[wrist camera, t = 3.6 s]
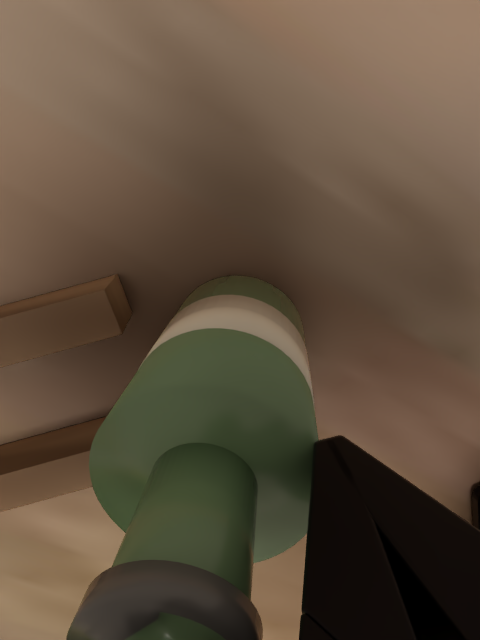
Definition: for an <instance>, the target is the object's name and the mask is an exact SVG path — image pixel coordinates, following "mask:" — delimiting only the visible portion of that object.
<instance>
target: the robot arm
mask: <svg viewBox="0 0 480 640" xmlns="http://www.w3.org/2000/svg"><path fill="white" fill-rule="evenodd" d="M472 504H473V525H471V524H470V523H468V522H467V521H465V520H464V519H463V518H461V517H460V516H458V515H457V514H455V513H454V512H452V511H451V510H449V509H448V508H447V507H445V506H444V505H442V504H441V503H439V502H438V501H436V500H435V499H434V498H432V497H431V496H429V495H428V494H426V493H425V492H423V491H422V490H420V489H419V488H418V487H416V486H415V485H413V484H412V483H410V482H409V481H407V480H406V479H405V478H403V477H402V476H400V475H399V474H397V473H396V472H394V471H393V470H391V469H390V468H389V467H387V466H386V465H384V464H383V463H381V462H380V461H378V460H377V459H376V458H374V457H373V456H371V455H370V454H368V453H367V452H365V451H364V450H362V449H361V448H360V447H358V446H357V445H355V444H354V443H352V442H351V441H349V440H348V439H347V438H345V437H344V436H341V435H338V436H334V437H330V438H327V439H323V440H319V441H316V442H315V443H314V449H313V462H312V476H311V489H310V503H309V516H308V530H307V543H306V557H305V570H304V584H303V598H302V615H301V620H300V633H299V640H480V486H478V487H477V488H476V489H475V490H474V491H473V494H472Z"/></svg>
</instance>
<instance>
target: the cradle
mask: <svg viewBox="0 0 480 640" xmlns="http://www.w3.org/2000/svg"><path fill="white" fill-rule="evenodd" d="M131 315H132V311H131V308H130V306H129V303H128V301H127V298H126V295H125V293H124V290H123V287H122V285H121V282H120V280H119V277H118V274H116V275H112V276H109V277H105V278H101V279H98V280H94V281H90V282H87V283H83V284H79V285H76V286H72V287H68V288H65V289H61V290H57V291H54V292H50V293H46V294H43V295H39V296H35V297H32V298H28V299H24V300H21V301H17V302H13V303H10V304H6V305H2V306H0V368H1V367H4V366H8V365H12V364H15V363H19V362H23V361H26V360H30V359H34V358H37V357H41V356H45V355H48V354H52V353H56V352H59V351H63V350H67V349H70V348H74V347H77V346H81V345H85V344H88V343H92V342H96V341H99V340H103V339H107V338H110V337H114V336H118V335H121V334H122V333H123V331H124V329H125V327H126V325H127V323H128V321H129V319H130V317H131ZM106 417H107V416H106ZM106 417H102V418H99V419H95V420H92V421H88V422H84V423H81V424H77V425H73V426H70V427H66V428H62V429H59V430H55V431H52V432H48V433H44V434H41V435H37V436H33V437H30V438H26V439H22V440H19V441H15V442H12V443H8V444H4V445H1V446H0V512H2V511H6V510H10V509H13V508H17V507H21V506H24V505H28V504H31V503H35V502H39V501H42V500H46V499H50V498H53V497H57V496H60V495H64V494H68V493H71V492H75V491H79V490H82V489H86V488H89V487H93V486H92V482H91V478H90V471H89V455H90V450H91V446H92V442H93V439H94V437H95V435H96V433H97V431H98V429H99V428H100V426H101V425H102V423H103V421H104V420H105V418H106Z"/></svg>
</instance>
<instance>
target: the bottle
mask: <svg viewBox="0 0 480 640" xmlns="http://www.w3.org/2000/svg"><path fill="white" fill-rule="evenodd" d="M316 441H318V433H317V426H316V418H315V405H314V398H313V390H312V383H311V376H310V369H309V361H308V354H307V350H306V344H305V336H304V329H303V324H302V321H301V317H300V315H299V313H298V311H297V309H296V308H295V306H294V304H293V303H292V302H291V301H290V299H289V298H288V297H287V296H286V295H285V294H284V293H283V292H282V291H280V290H279V289H277V288H276V287H275V286H273V285H271V284H269V283H267V282H265V281H263V280H260V279H257V278H253V277H248V276H239V275H238V276H225V277H220V278H217V279H213V280H211V281H209V282H206V283H204V284H203V285H201V286H200V287H198V288H197V289H195V290H194V291H193V292H192V293H191V294H190V295H189V296H188V297H187V298H186V300H185V301H184V303H183V304H182V306H181V307H180V309H179V310H178V311H177V313H176V314H175V316H174V317H173V319H172V320H171V321H170V322H169V324H168V325H167V327H166V328H165V330H164V331H163V333H162V334H161V335H160V337H159V338H158V340H157V341H156V343H155V344H154V346H153V347H152V349H151V350H150V352H149V353H148V355H147V356H146V358H145V359H144V361H143V362H142V364H141V365H140V367H139V369H138V371H137V372H136V374H135V375H134V377H133V378H132V380H131V381H130V383H129V384H128V386H127V387H126V389H125V390H124V392H123V393H122V395H121V396H120V398H119V399H118V401H117V402H116V404H115V405H114V407H113V408H112V410H111V411H110V413H109V414H108V416H107V417H106V418H105V420H104V421H103V423H102V425H101V426H100V428H99V429H98V431H97V433H96V435H95V437H94V439H93V442H92V446H91V450H90V455H89V471H90V478H91V482H92V486H93V489H94V491H95V494H96V496H97V498H98V500H99V502H100V503H101V505H102V507H103V508H104V510H105V511H106V513H107V514H108V515H109V516H110V518H111V519H112V520H113V521H114V522H115V523H116V524H117V525H118V526H119V527H120V528H121V529H122V530H123V531H124V532H125V533H126V534H125V536H124V538H123V541H122V543H121V546H120V548H119V550H118V553H117V555H116V558H115V560H114V563H113V565H112V567H111V568H109V569H108V570H106V571H104V572H102V573H101V574H100V575H98V576H97V577H96V578H95V579H94V580H93V581H92V583H91V584H90V585H89V587H88V589H87V591H86V593H85V595H84V597H83V600H82V602H81V604H80V606H79V609H78V611H77V613H76V615H75V617H74V620H73V622H72V624H71V626H70V629H69V631H68V634H67V640H262V638H263V629H262V622H261V618H260V616H259V614H258V611H257V609H256V608H255V606H254V605H253V603H252V602H251V587H252V572H253V563H256V562H260V561H263V560H266V559H269V558H272V557H274V556H276V555H278V554H280V553H282V552H284V551H286V550H287V549H289V548H290V547H292V546H293V545H295V544H296V543H297V542H298V541H299V540H300V539H302V538H303V537H304V536H305V534H306V533H307V530H308V516H309V503H310V489H311V476H312V462H313V449H314V443H315V442H316Z"/></svg>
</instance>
